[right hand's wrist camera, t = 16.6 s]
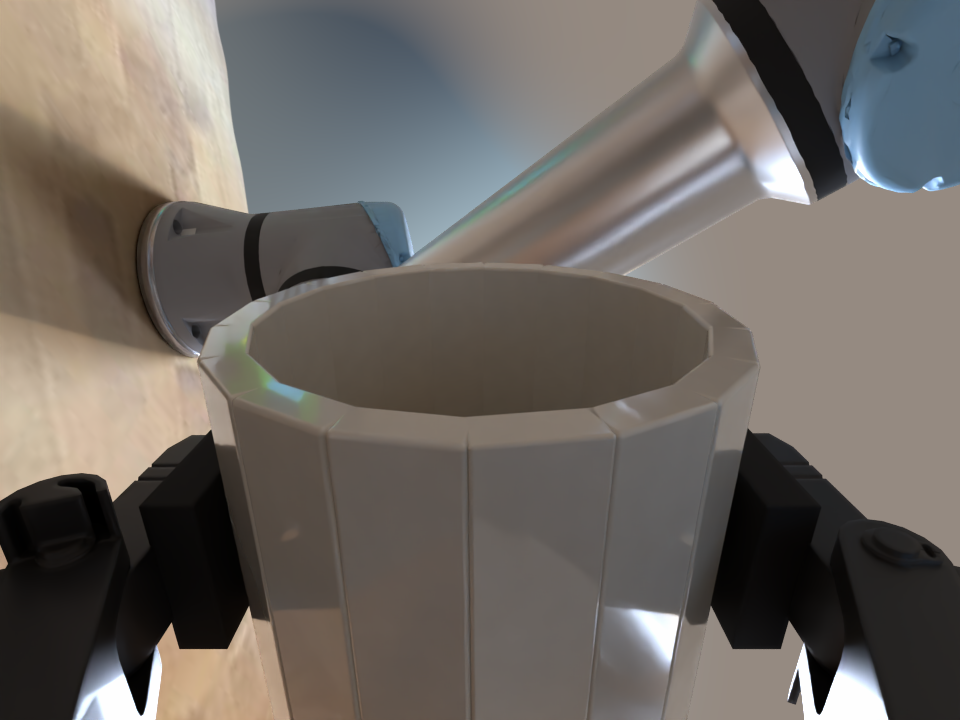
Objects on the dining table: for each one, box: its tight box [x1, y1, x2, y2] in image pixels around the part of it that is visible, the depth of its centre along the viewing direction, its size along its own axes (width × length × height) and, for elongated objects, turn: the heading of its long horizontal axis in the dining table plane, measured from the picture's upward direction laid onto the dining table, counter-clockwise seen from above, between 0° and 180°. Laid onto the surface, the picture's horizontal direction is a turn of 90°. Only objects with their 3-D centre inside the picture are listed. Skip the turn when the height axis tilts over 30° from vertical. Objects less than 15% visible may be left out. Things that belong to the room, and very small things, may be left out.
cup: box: [197, 262, 760, 720], centre depth 10 cm, size 8×8×10 cm
